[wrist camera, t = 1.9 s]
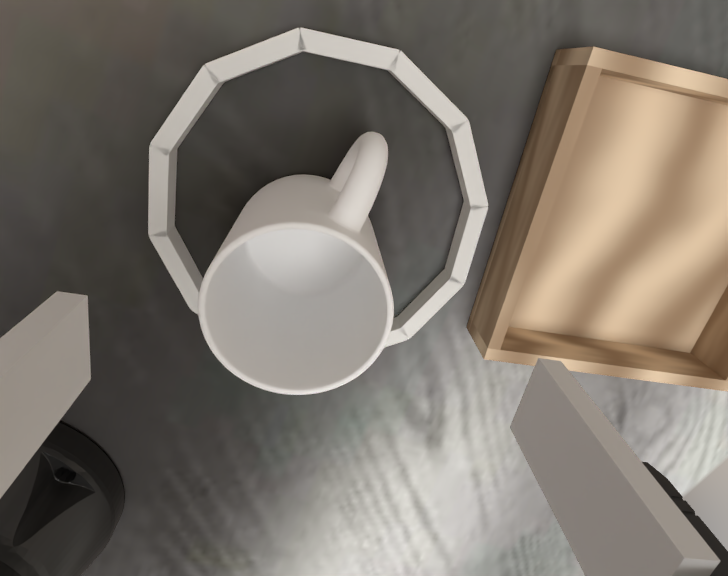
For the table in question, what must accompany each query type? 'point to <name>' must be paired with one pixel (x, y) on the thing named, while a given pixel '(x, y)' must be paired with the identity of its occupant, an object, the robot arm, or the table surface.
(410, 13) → the table surface
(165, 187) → the socket ring
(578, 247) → the oak bin
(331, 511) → the table surface
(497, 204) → the table surface
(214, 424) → the table surface
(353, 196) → the mug
